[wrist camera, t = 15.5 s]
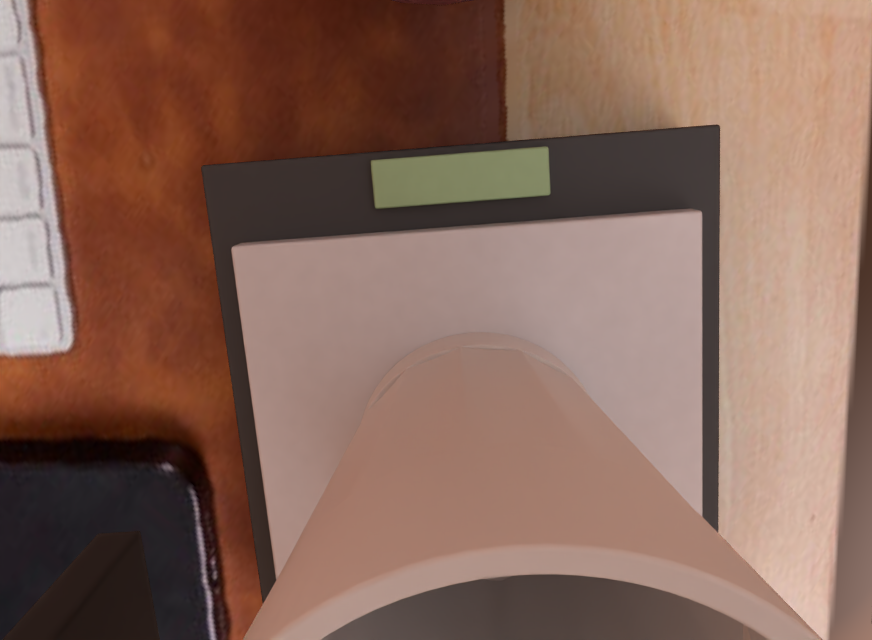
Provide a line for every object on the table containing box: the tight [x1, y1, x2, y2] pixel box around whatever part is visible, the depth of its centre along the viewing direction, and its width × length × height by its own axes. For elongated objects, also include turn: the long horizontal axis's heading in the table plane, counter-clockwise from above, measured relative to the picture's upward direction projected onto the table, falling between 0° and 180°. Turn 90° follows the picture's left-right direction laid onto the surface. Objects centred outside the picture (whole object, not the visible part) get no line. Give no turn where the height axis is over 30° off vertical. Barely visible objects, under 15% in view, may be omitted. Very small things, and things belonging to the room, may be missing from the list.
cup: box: [243, 332, 822, 640], centre depth 14 cm, size 8×8×12 cm
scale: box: [201, 125, 720, 603], centre depth 21 cm, size 13×14×4 cm
